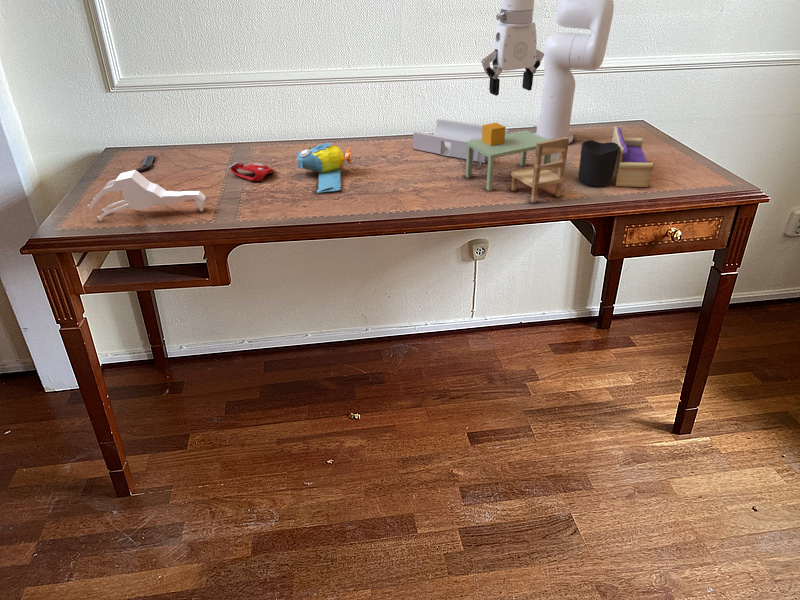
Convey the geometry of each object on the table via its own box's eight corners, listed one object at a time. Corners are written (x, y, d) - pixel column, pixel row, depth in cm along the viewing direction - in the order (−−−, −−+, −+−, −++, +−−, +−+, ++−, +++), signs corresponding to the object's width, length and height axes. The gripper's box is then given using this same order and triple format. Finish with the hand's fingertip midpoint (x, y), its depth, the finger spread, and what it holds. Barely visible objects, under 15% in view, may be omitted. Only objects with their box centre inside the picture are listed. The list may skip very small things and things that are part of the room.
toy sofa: (649, 188, 159) (657, 151, 153) (614, 186, 161) (621, 149, 155) (638, 160, 176) (645, 125, 171) (607, 159, 178) (613, 124, 172)
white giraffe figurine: (124, 251, 153) (210, 210, 150) (80, 197, 144) (170, 153, 141) (129, 242, 158) (212, 202, 154) (86, 189, 149) (174, 146, 146)
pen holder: (593, 190, 159) (599, 153, 153) (569, 178, 166) (574, 143, 160) (619, 183, 162) (627, 147, 157) (595, 172, 169) (601, 137, 164)
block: (481, 141, 163) (482, 124, 161) (495, 138, 165) (496, 122, 162) (490, 145, 160) (491, 129, 157) (504, 143, 161) (505, 126, 159)
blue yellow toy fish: (351, 159, 156) (292, 163, 155) (354, 190, 161) (297, 195, 160) (349, 126, 180) (298, 130, 179) (351, 154, 184) (302, 158, 184)
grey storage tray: (508, 147, 188) (510, 121, 183) (478, 169, 173) (479, 141, 168) (438, 134, 199) (438, 109, 195) (404, 154, 184) (404, 127, 180)
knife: (149, 171, 176) (149, 168, 175) (135, 172, 175) (135, 170, 175) (156, 154, 187) (156, 152, 187) (143, 155, 187) (142, 153, 186)
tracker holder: (271, 163, 176) (276, 167, 167) (270, 179, 177) (275, 183, 168) (228, 159, 172) (231, 162, 163) (227, 175, 173) (230, 179, 164)
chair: (509, 189, 160) (514, 132, 151) (537, 183, 163) (543, 126, 155) (532, 203, 152) (539, 144, 144) (561, 196, 156) (569, 138, 147)
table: (464, 176, 168) (466, 141, 163) (523, 163, 176) (526, 129, 170) (488, 191, 159) (490, 155, 154) (549, 177, 167) (553, 142, 161)
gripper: (493, 23, 136) (488, 100, 145) (556, 16, 142) (548, 90, 151) (476, 18, 142) (473, 92, 151) (537, 12, 148) (530, 84, 157)
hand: (510, 91), depth 151 cm, fingers open, 9 cm apart
